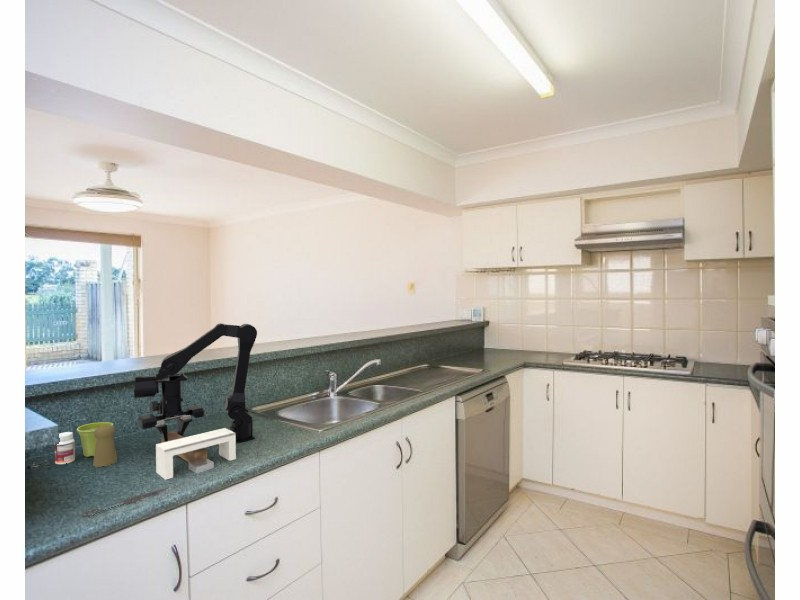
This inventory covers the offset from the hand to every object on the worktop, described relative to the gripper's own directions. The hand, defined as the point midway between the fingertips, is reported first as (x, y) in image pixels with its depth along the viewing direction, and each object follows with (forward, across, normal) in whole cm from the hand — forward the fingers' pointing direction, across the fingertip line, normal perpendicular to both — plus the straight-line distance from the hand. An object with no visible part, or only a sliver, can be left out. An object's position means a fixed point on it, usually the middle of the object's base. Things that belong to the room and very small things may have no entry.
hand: (172, 442), depth 143 cm
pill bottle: (+2, +26, -12) cm, 29 cm away
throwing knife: (+2, +20, +30) cm, 36 cm away
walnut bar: (+2, 0, +8) cm, 8 cm away
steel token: (+2, 0, +22) cm, 23 cm away
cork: (+2, +18, -2) cm, 18 cm away
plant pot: (+2, +18, -13) cm, 23 cm away
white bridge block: (+2, 0, +20) cm, 20 cm away
